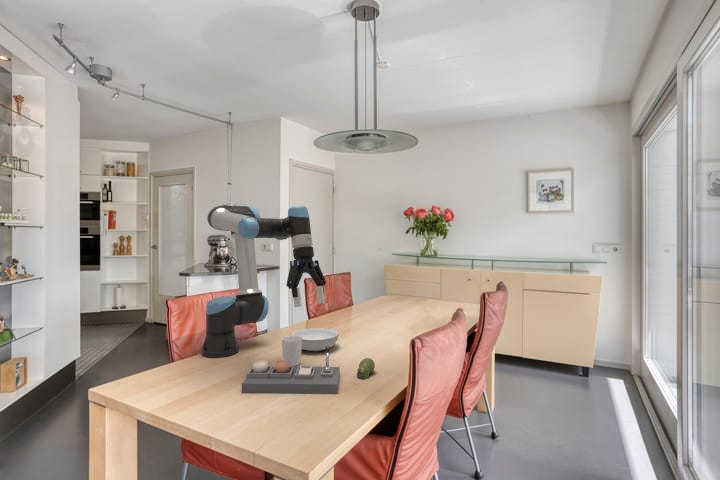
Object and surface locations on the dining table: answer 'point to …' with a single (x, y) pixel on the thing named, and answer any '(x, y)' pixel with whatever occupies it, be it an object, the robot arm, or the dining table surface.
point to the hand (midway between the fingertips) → (310, 305)
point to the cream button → (260, 366)
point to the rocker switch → (305, 370)
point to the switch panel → (292, 381)
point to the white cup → (292, 349)
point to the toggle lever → (327, 360)
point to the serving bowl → (317, 338)
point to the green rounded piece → (365, 368)
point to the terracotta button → (282, 366)
